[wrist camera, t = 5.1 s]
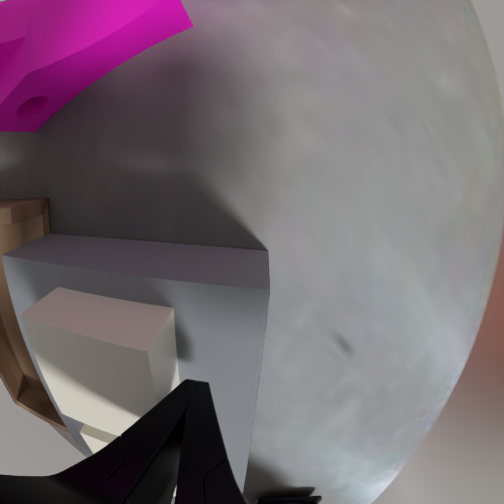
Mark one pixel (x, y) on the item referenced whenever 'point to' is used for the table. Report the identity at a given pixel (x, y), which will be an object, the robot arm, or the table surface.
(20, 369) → the box
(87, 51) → the toy block
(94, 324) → the tile
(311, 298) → the table surface
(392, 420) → the table surface
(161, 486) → the robot arm
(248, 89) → the table surface
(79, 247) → the board
